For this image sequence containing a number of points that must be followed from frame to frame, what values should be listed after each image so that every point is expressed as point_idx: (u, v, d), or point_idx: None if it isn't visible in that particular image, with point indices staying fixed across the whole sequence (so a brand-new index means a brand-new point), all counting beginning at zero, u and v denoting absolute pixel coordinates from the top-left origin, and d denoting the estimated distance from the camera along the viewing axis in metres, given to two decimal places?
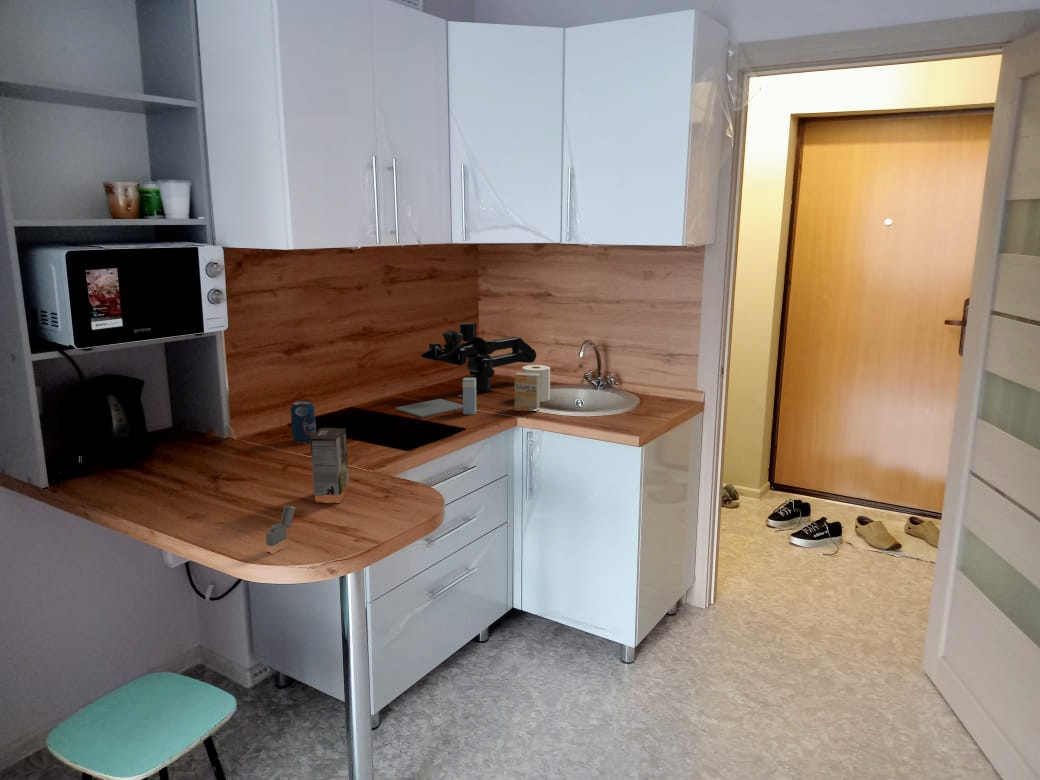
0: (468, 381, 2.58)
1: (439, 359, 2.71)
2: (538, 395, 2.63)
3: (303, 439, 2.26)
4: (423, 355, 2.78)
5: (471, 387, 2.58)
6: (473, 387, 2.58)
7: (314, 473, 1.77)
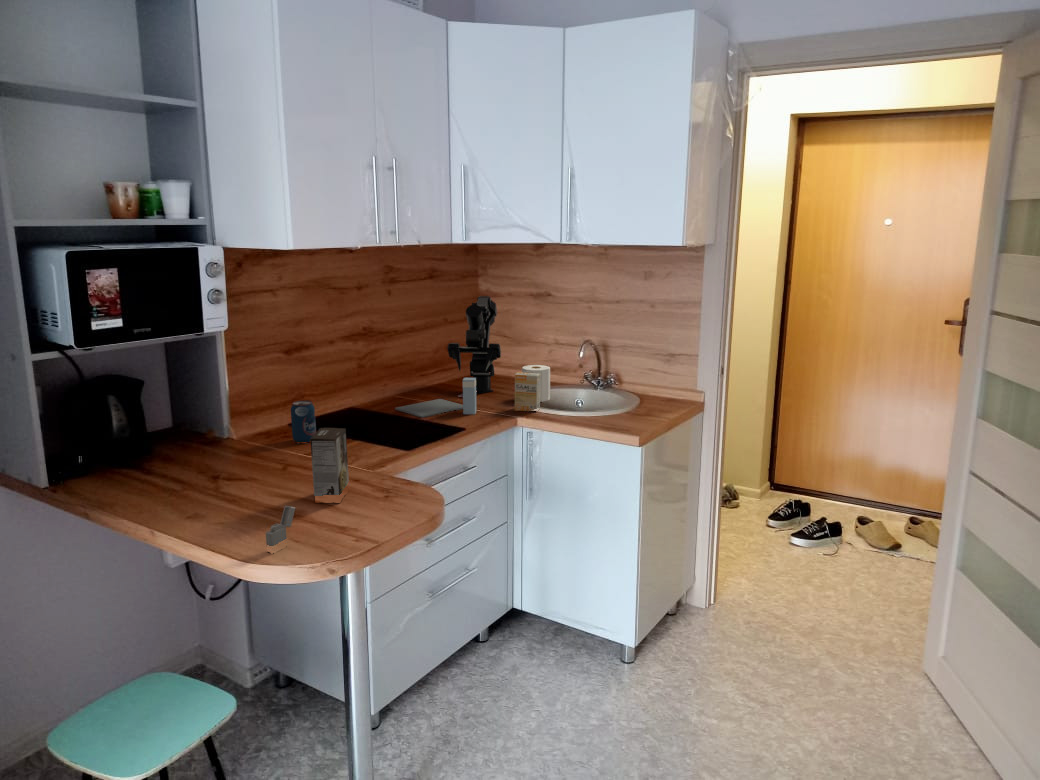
0: (468, 381, 2.58)
1: (486, 368, 2.67)
2: (538, 395, 2.63)
3: (303, 439, 2.26)
4: (460, 368, 2.68)
5: (471, 387, 2.58)
6: (473, 387, 2.58)
7: (314, 473, 1.77)
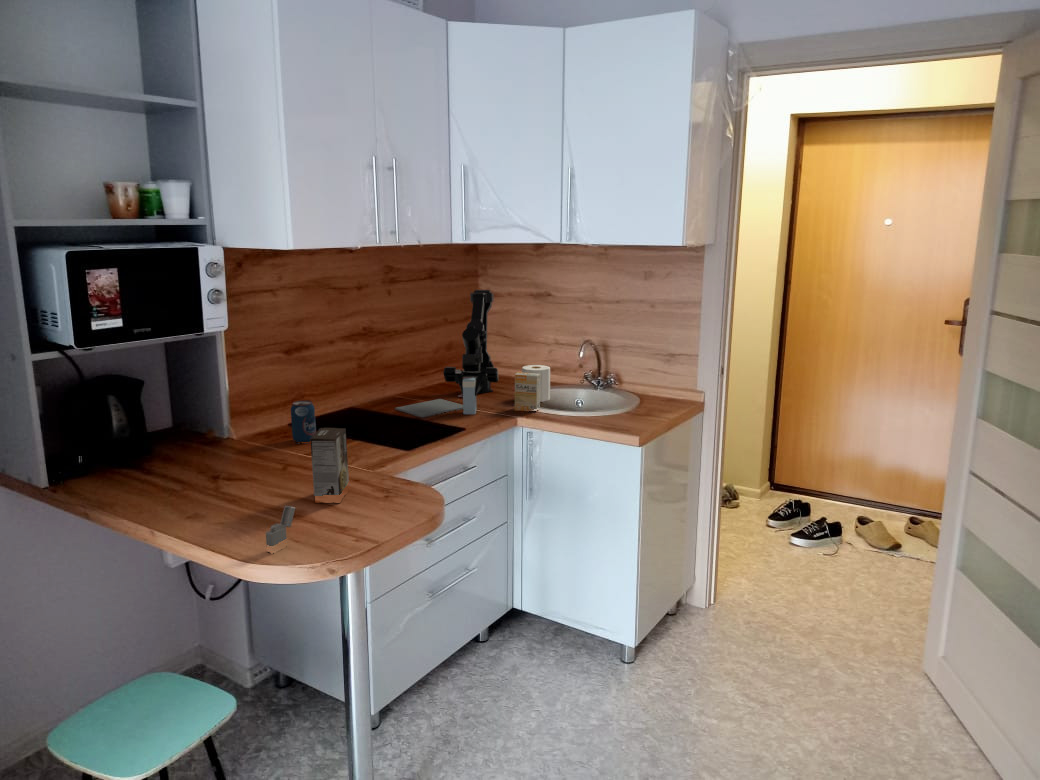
0: (468, 381, 2.58)
1: (476, 393, 2.60)
2: (538, 395, 2.63)
3: (303, 439, 2.26)
4: None
5: (471, 387, 2.58)
6: (473, 387, 2.58)
7: (314, 473, 1.77)
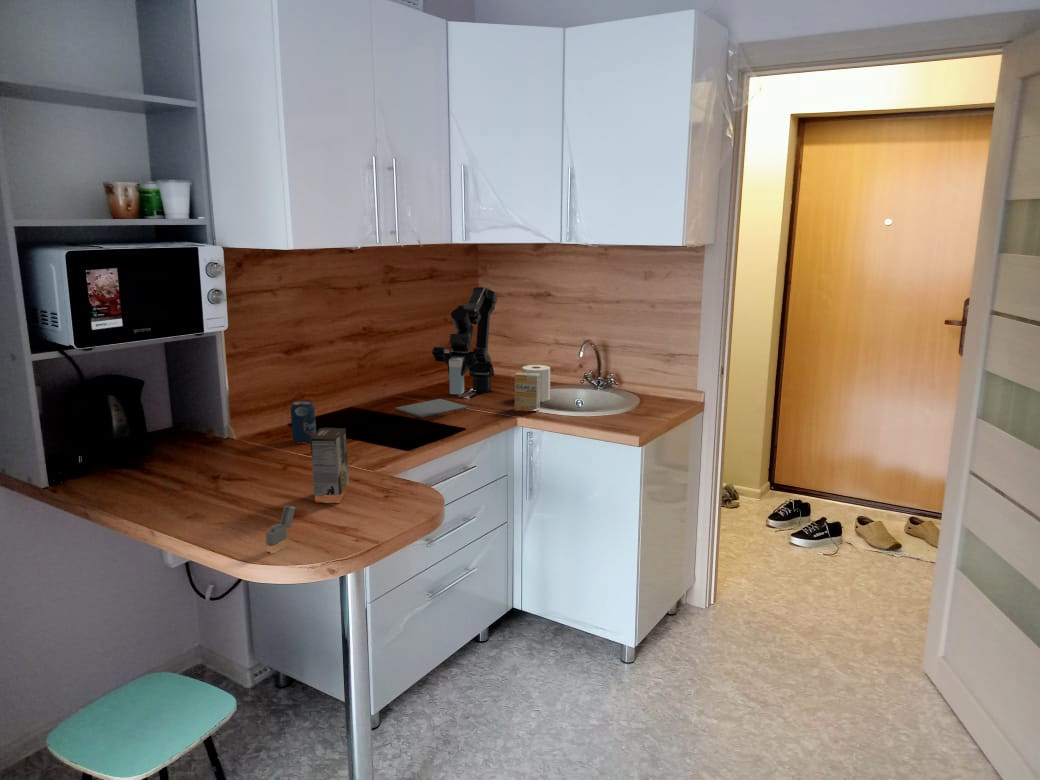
0: (454, 361, 2.57)
1: (463, 374, 2.58)
2: (538, 395, 2.63)
3: (303, 439, 2.26)
4: None
5: (457, 367, 2.57)
6: (459, 367, 2.57)
7: (314, 473, 1.77)
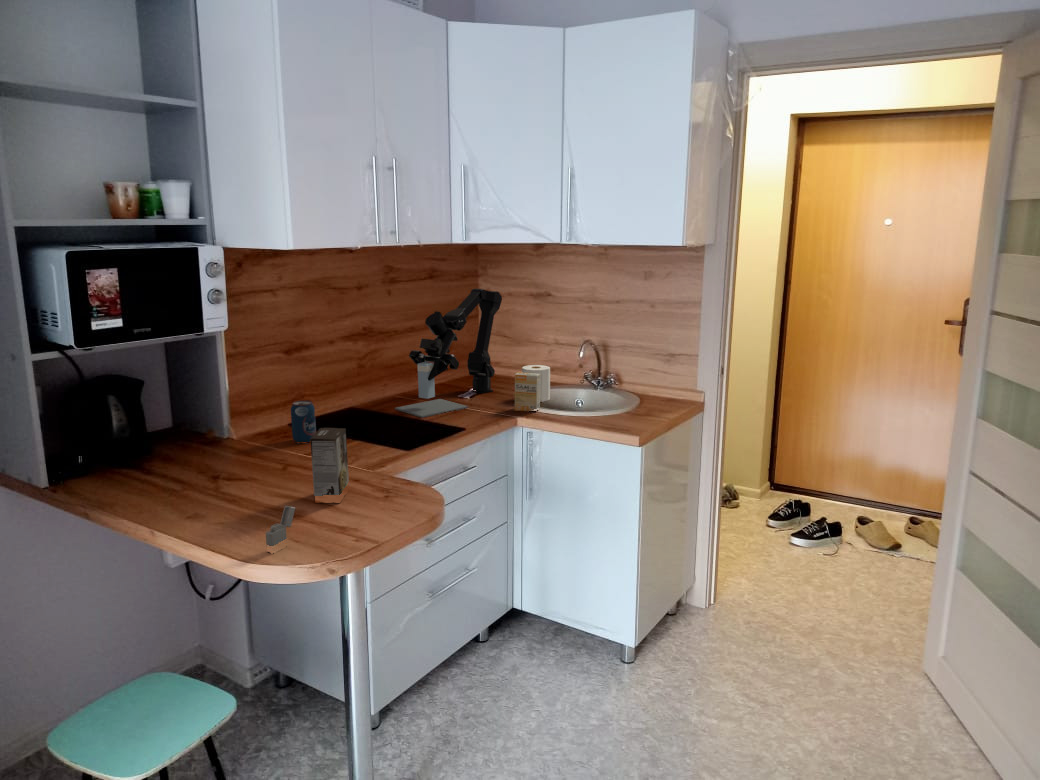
0: (422, 365, 2.62)
1: (430, 378, 2.62)
2: (538, 395, 2.63)
3: (303, 439, 2.26)
4: None
5: (424, 371, 2.62)
6: (426, 371, 2.61)
7: (314, 473, 1.77)
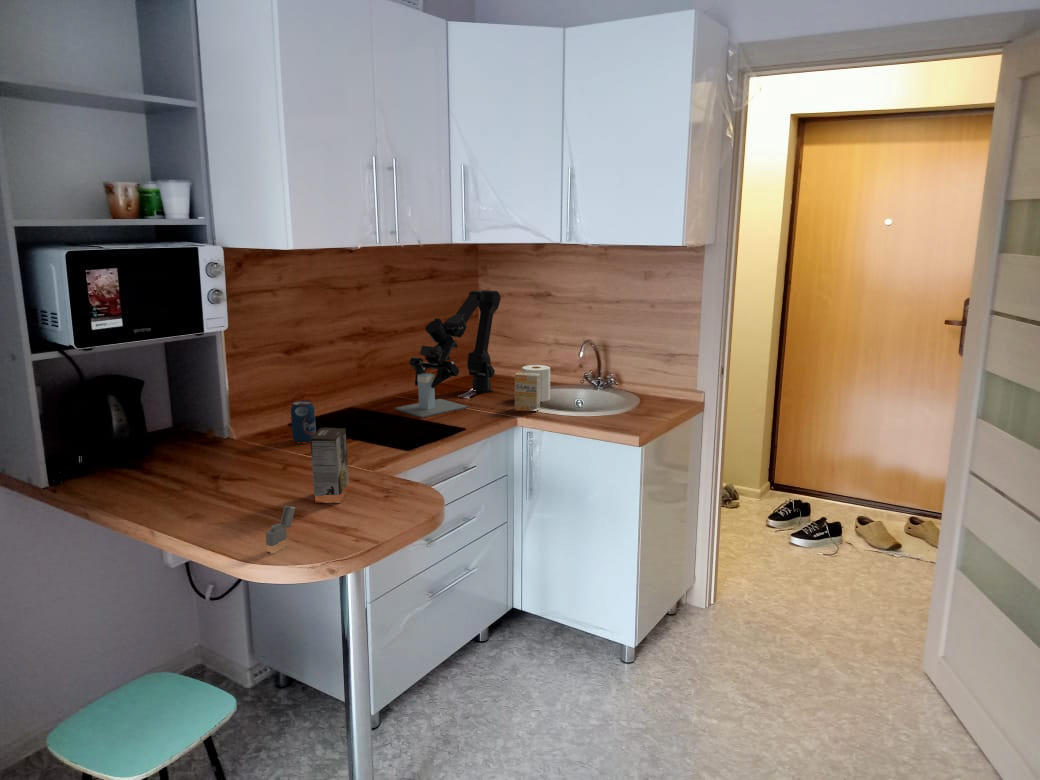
0: (422, 376, 2.62)
1: (434, 386, 2.62)
2: (538, 395, 2.63)
3: (303, 439, 2.26)
4: (417, 383, 2.66)
5: (424, 382, 2.62)
6: (426, 383, 2.62)
7: (314, 473, 1.77)
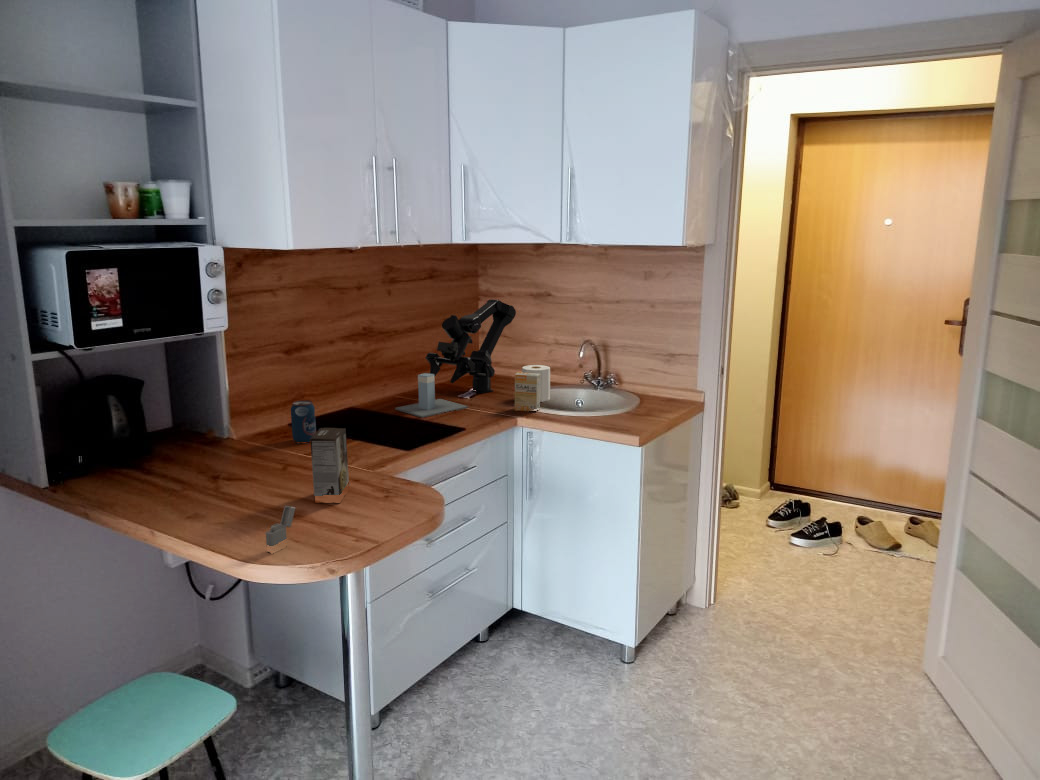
0: (422, 376, 2.62)
1: (453, 381, 2.70)
2: (538, 395, 2.63)
3: (303, 439, 2.26)
4: None
5: (424, 383, 2.62)
6: (426, 383, 2.62)
7: (314, 473, 1.77)
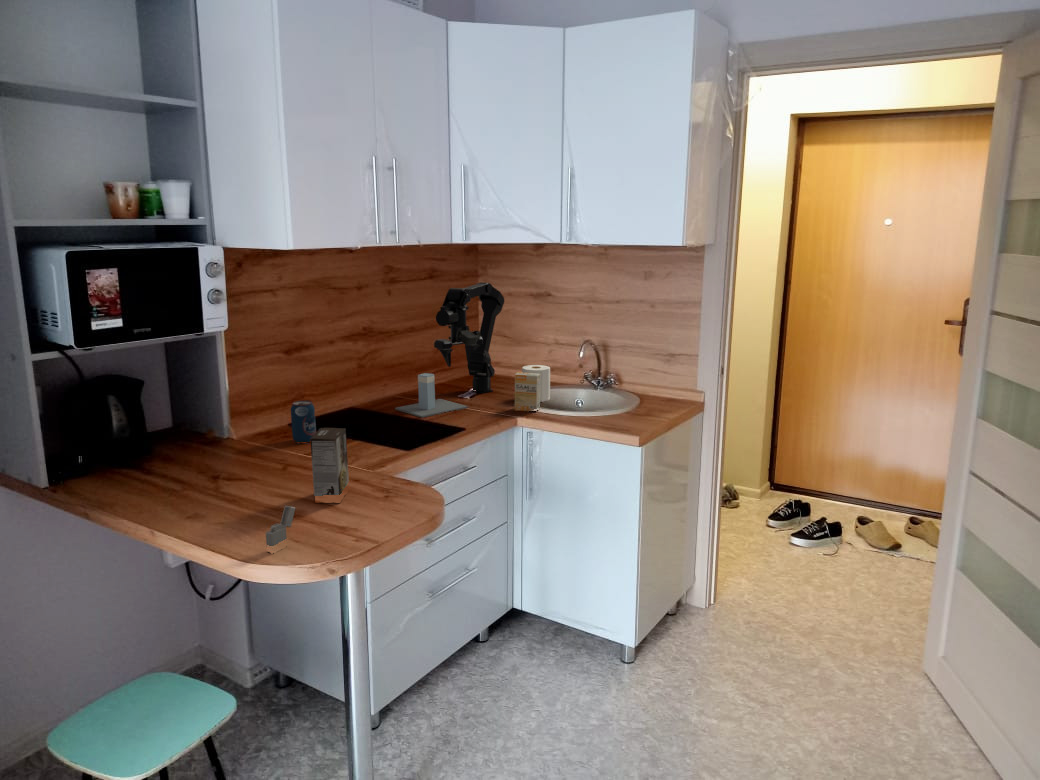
0: (422, 376, 2.62)
1: None
2: (538, 395, 2.63)
3: (303, 439, 2.26)
4: None
5: (424, 383, 2.62)
6: (426, 383, 2.62)
7: (314, 473, 1.77)
